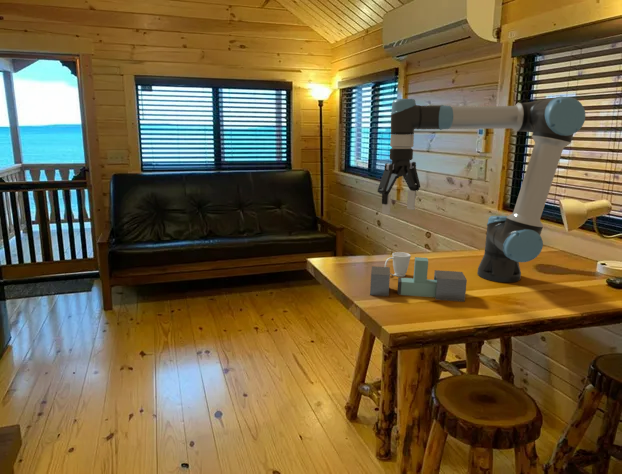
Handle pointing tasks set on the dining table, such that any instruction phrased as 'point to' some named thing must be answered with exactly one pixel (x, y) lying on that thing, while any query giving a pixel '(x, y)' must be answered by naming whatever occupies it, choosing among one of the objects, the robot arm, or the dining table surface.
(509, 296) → the dining table surface
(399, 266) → the cup
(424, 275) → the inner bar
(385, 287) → the socket
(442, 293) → the gray block
